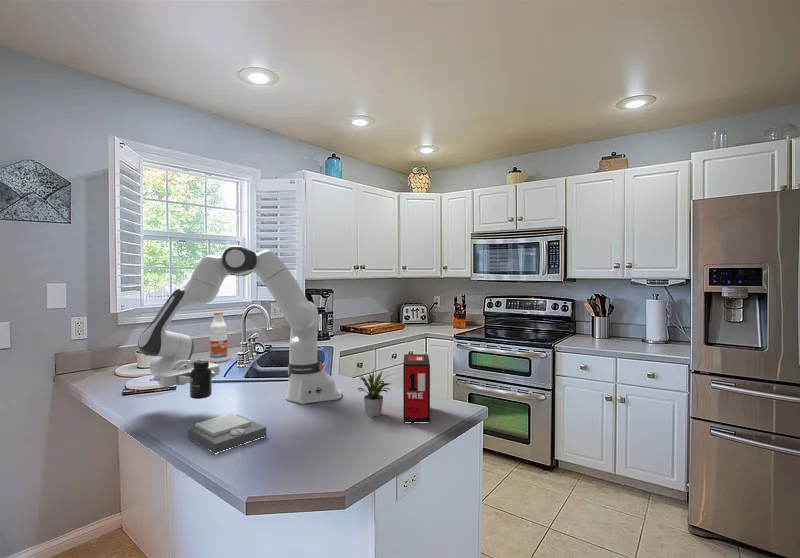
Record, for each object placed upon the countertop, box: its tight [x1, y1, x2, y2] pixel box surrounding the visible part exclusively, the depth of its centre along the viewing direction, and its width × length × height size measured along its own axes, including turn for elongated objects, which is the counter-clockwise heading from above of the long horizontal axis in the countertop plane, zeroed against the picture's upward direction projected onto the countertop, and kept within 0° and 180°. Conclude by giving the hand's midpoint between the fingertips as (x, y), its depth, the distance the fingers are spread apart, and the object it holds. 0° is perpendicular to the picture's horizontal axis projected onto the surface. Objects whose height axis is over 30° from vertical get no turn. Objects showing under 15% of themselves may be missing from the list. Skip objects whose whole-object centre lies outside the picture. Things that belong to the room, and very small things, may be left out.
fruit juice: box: [209, 311, 229, 363], centre depth 236 cm, size 9×9×28 cm
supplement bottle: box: [189, 359, 213, 400], centre depth 141 cm, size 7×7×12 cm
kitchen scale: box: [187, 412, 267, 454], centre depth 126 cm, size 16×18×4 cm
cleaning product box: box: [402, 353, 431, 424], centre depth 146 cm, size 16×9×20 cm, turn 178°
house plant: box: [351, 369, 392, 417], centre depth 145 cm, size 14×14×16 cm
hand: (202, 377), depth 141 cm, fingers closed on supplement bottle, 7 cm apart
